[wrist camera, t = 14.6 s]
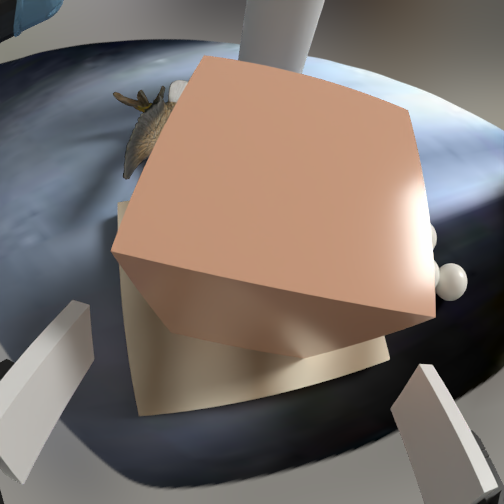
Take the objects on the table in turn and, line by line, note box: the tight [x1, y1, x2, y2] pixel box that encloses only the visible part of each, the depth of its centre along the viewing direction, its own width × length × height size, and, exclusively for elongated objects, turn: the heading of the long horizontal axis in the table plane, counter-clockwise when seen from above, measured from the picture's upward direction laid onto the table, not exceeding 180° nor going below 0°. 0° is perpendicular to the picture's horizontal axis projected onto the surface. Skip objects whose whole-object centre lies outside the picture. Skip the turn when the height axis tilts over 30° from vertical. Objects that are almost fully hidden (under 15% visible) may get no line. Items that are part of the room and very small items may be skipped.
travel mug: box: [238, 0, 325, 74], centre depth 20 cm, size 6×7×20 cm
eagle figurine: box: [113, 80, 188, 179], centre depth 21 cm, size 8×7×9 cm
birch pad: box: [118, 201, 390, 416], centre depth 20 cm, size 16×14×2 cm
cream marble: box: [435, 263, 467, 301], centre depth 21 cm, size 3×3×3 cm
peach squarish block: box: [111, 55, 436, 358], centre depth 14 cm, size 8×8×12 cm
